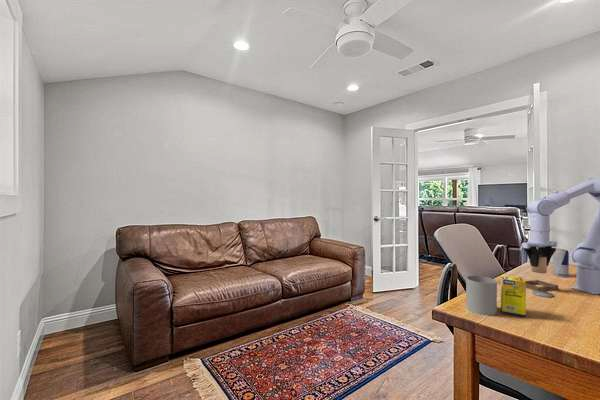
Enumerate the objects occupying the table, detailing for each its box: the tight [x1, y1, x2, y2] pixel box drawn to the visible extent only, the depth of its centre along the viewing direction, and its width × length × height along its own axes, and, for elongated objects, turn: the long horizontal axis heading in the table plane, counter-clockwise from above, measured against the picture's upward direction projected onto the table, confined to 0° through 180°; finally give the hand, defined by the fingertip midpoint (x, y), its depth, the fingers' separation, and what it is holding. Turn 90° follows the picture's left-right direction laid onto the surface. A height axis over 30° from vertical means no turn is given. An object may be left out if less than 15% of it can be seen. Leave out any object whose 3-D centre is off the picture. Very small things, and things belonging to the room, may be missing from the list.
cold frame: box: [525, 279, 559, 292], centre depth 114 cm, size 10×8×2 cm
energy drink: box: [552, 248, 570, 278], centre depth 130 cm, size 5×5×12 cm
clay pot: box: [531, 256, 548, 274], centre depth 110 cm, size 4×4×6 cm
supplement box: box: [500, 274, 527, 318], centre depth 90 cm, size 6×6×11 cm
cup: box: [465, 275, 498, 316], centre depth 92 cm, size 8×8×10 cm
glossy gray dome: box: [531, 290, 555, 298], centre depth 105 cm, size 6×6×1 cm
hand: (539, 265), depth 110 cm, fingers closed on clay pot, 4 cm apart
